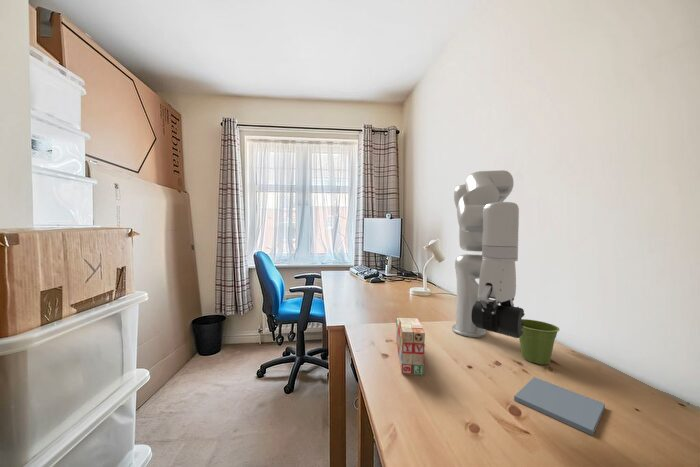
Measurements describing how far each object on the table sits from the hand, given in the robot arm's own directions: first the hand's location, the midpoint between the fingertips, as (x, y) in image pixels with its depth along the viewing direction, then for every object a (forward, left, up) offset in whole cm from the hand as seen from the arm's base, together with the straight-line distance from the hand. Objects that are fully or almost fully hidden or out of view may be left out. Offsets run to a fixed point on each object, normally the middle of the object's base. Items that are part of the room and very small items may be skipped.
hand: (497, 325), depth 64 cm
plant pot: (-32, -1, -18) cm, 36 cm away
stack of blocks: (0, -26, -18) cm, 32 cm away
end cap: (0, 0, -2) cm, 2 cm away
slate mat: (-10, +10, -17) cm, 22 cm away
